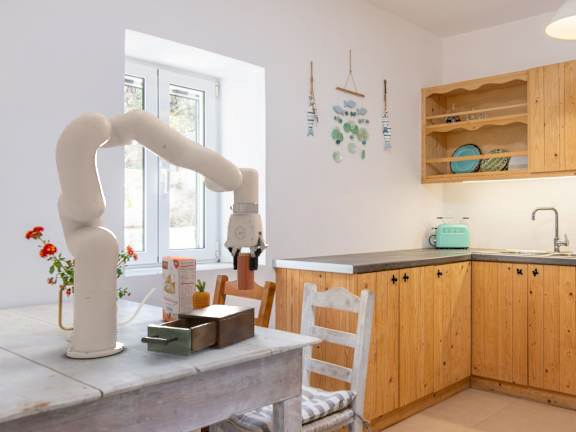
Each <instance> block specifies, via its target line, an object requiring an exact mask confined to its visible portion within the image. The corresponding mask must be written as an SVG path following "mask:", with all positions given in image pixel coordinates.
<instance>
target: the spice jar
mask: <svg viewBox="0 0 576 432" xmlns="http://www.w3.org/2000/svg"><path fill="white" fill-rule="evenodd" d="M250 257H252V256H251V252H250V251H241V252H238V256H237V270H236V290H237V291H250V290H254V289H255V270H254V271H250Z"/></svg>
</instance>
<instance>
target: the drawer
mask: <svg viewBox="0 0 576 432" xmlns="http://www.w3.org/2000/svg"><path fill="white" fill-rule="evenodd" d="M217 321H218V320H207V319H196V318H186V317H185V318H181V319H178V320H174V321H170V322H167V321H165V322H162V323H158V324H156V325H155V324H149V325H147V326H146V327H147V328H146V329H147V336H142V337H141V339H140V342H141V343H142V344H146V345H147V352H153V353H159V354H168V355H175V356H176V355H177V356H183V357H189V356H191V355H192V353H193V352H196V351H199V350H203V349H205V348H209V347H208V346H210V345H213V344H216V343H217Z"/></svg>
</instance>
